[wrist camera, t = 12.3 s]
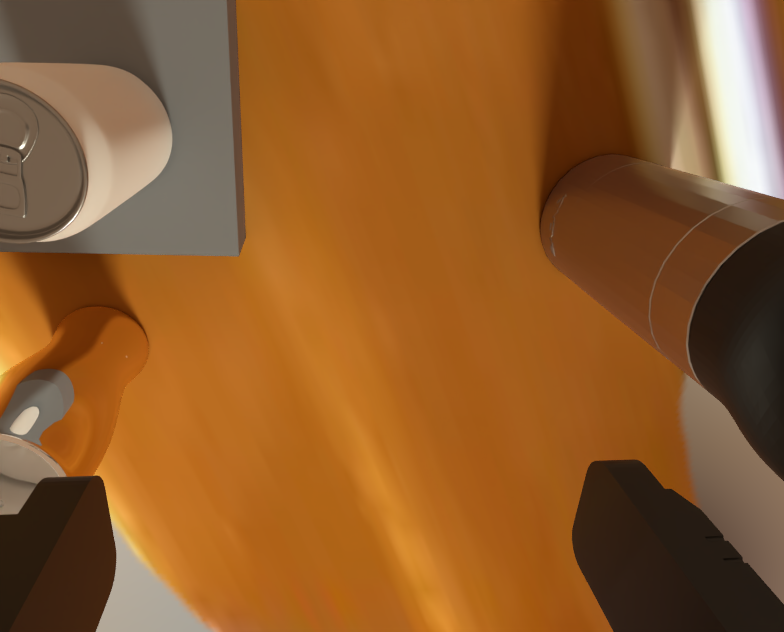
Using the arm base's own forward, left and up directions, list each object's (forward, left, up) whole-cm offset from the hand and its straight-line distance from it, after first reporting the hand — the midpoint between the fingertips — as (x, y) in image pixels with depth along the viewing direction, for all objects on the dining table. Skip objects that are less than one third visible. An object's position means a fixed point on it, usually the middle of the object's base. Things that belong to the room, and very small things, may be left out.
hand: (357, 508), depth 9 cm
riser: (+12, -3, -30) cm, 32 cm away
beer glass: (+15, +12, -30) cm, 36 cm away
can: (+11, -3, -26) cm, 29 cm away
